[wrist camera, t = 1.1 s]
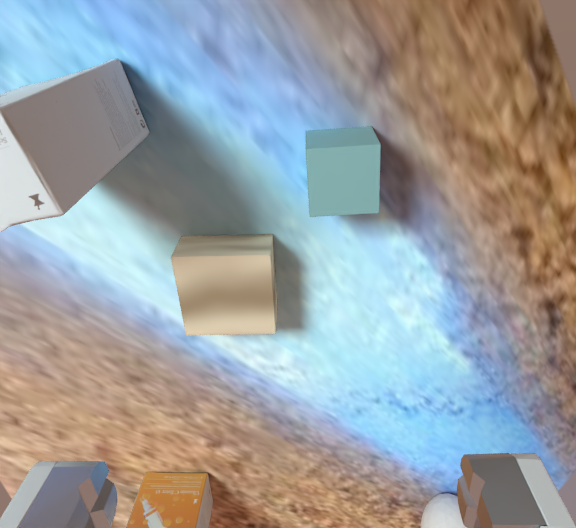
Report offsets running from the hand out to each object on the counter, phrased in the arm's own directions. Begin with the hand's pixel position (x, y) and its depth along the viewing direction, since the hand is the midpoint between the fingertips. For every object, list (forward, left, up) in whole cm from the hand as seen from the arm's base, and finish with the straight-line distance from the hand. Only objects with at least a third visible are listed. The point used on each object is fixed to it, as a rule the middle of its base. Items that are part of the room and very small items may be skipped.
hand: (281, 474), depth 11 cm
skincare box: (-3, -16, -29) cm, 33 cm away
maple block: (+12, -7, -29) cm, 32 cm away
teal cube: (+2, +3, -29) cm, 29 cm away
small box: (+43, -18, -29) cm, 55 cm away
